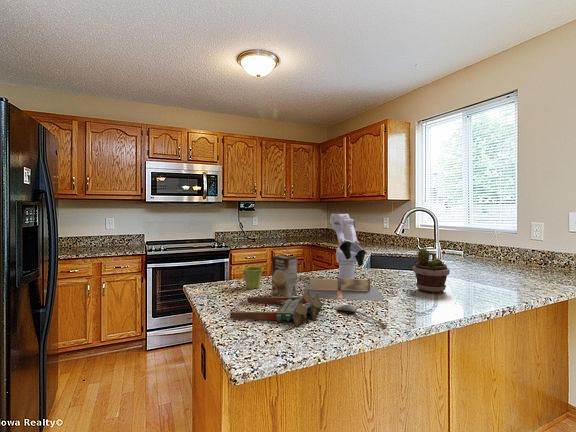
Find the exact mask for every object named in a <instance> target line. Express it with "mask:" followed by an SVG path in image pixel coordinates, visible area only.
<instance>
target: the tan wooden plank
mask: <svg viewBox="0 0 576 432" xmlns="http://www.w3.org/2000/svg"><path fill="white" fill-rule="evenodd" d="M341 286H342V290H367V291H370V287H371V278H367V279H366V278H365V279H364V278H354V279H342V282H341Z"/></svg>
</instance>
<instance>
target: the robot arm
mask: <svg viewBox="0 0 576 432" xmlns="http://www.w3.org/2000/svg"><path fill="white" fill-rule="evenodd" d="M330 225H331V229H332V230H333V231H335V233H336V237H337V241H338V244H339V246H337V248H336V250H335V251H336V252H335V258H336V263H338V266H339V269H338V271H339V272H338V277H340V278H341V283H342V279H355V264H356V263H357V265H358V267H362V266H363V265H364V259H365V256H366V253H367V251H366V250H365V249H363V248H362V247H361V246H360V241H359V240H358V237H357V231H356V219H355V218H351V217H350V215H349V213H331V214H330Z"/></svg>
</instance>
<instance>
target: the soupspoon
mask: <svg viewBox="0 0 576 432" xmlns="http://www.w3.org/2000/svg"><path fill="white" fill-rule="evenodd" d="M357 310H358V308H357V307H356V306H354V305H352V304H343V305H340V306H338V307H337V309H336V311H347V312H348V311H349V312H353V313H356V314H359V315H361V316H364V317H365V318H368V319H369V320H372V321H373V322H376V323H377V324H379V326H381V327H382V329H386V328H387V327H388V323H383V322H381V321H380V320H377V319H376V318H375V317H374V318H373V317H371V316H369V315H367V314H365V313H362V311H361V312H360V311H357Z"/></svg>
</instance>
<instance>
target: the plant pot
mask: <svg viewBox="0 0 576 432" xmlns="http://www.w3.org/2000/svg"><path fill="white" fill-rule="evenodd" d="M263 270H264V267H261V266H248V267H246V266H245V267H243V268H242V272H243V274H244V281H245V288H247V289H248V290H249V289H250V290H254V289H259V288H260V287H261V286H260V285H261V279H262V273H263Z"/></svg>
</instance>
